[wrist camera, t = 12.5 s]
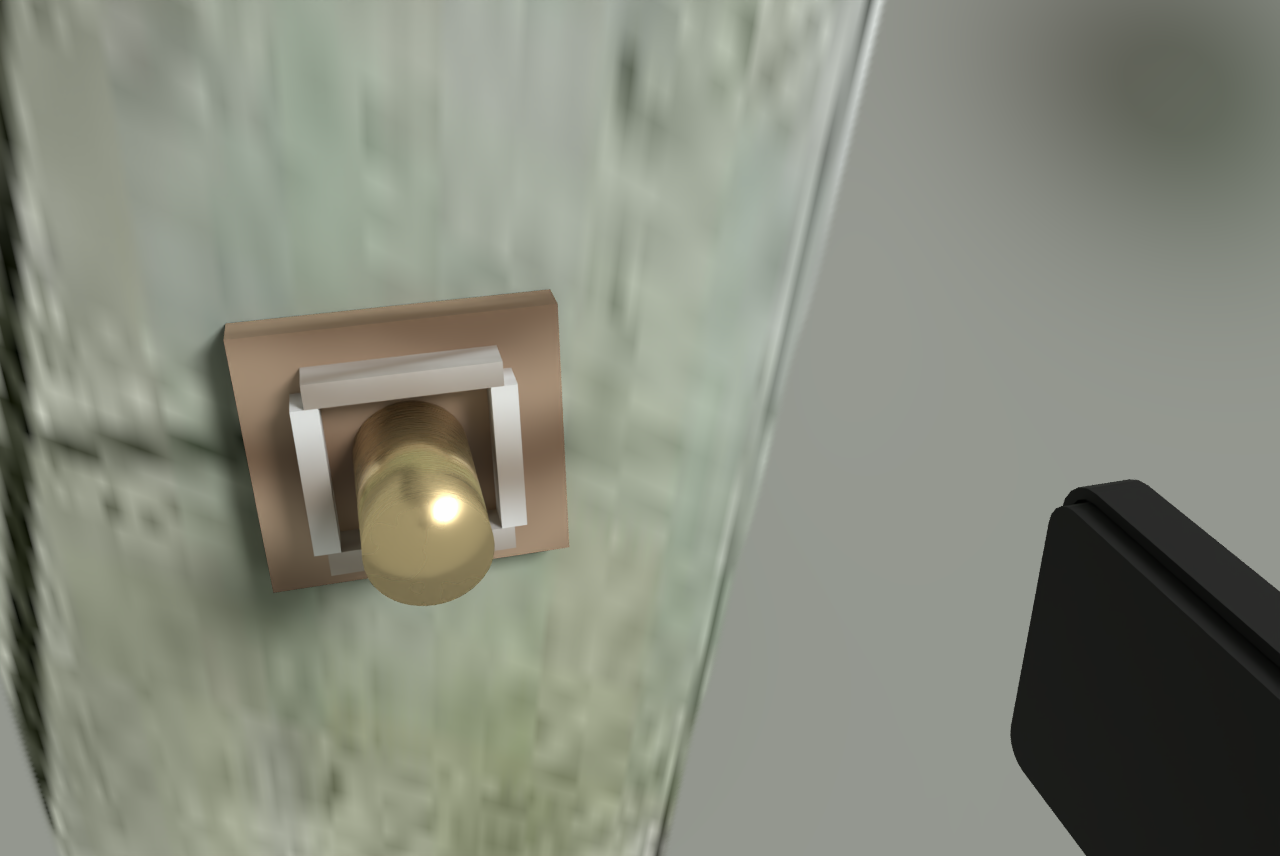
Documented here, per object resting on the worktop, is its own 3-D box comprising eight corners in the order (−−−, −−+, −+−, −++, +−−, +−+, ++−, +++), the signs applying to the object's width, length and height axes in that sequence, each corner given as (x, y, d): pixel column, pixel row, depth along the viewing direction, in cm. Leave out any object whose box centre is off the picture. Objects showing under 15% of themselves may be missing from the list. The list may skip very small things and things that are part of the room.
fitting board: (225, 323, 43) (221, 357, 40) (549, 289, 45) (565, 319, 43) (273, 571, 48) (272, 615, 45) (562, 527, 50) (576, 567, 48)
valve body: (345, 407, 44) (354, 505, 38) (463, 394, 45) (490, 487, 39) (359, 507, 46) (369, 615, 40) (471, 492, 47) (498, 595, 41)
